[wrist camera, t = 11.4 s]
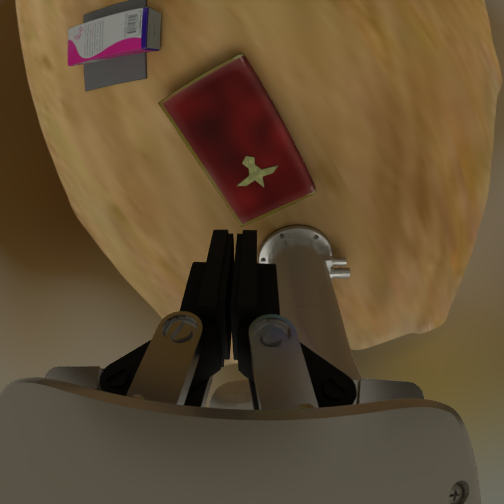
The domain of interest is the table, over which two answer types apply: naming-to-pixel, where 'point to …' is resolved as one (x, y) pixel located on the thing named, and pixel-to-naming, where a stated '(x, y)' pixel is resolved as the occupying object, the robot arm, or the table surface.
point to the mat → (120, 66)
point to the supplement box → (114, 36)
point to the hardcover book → (240, 140)
